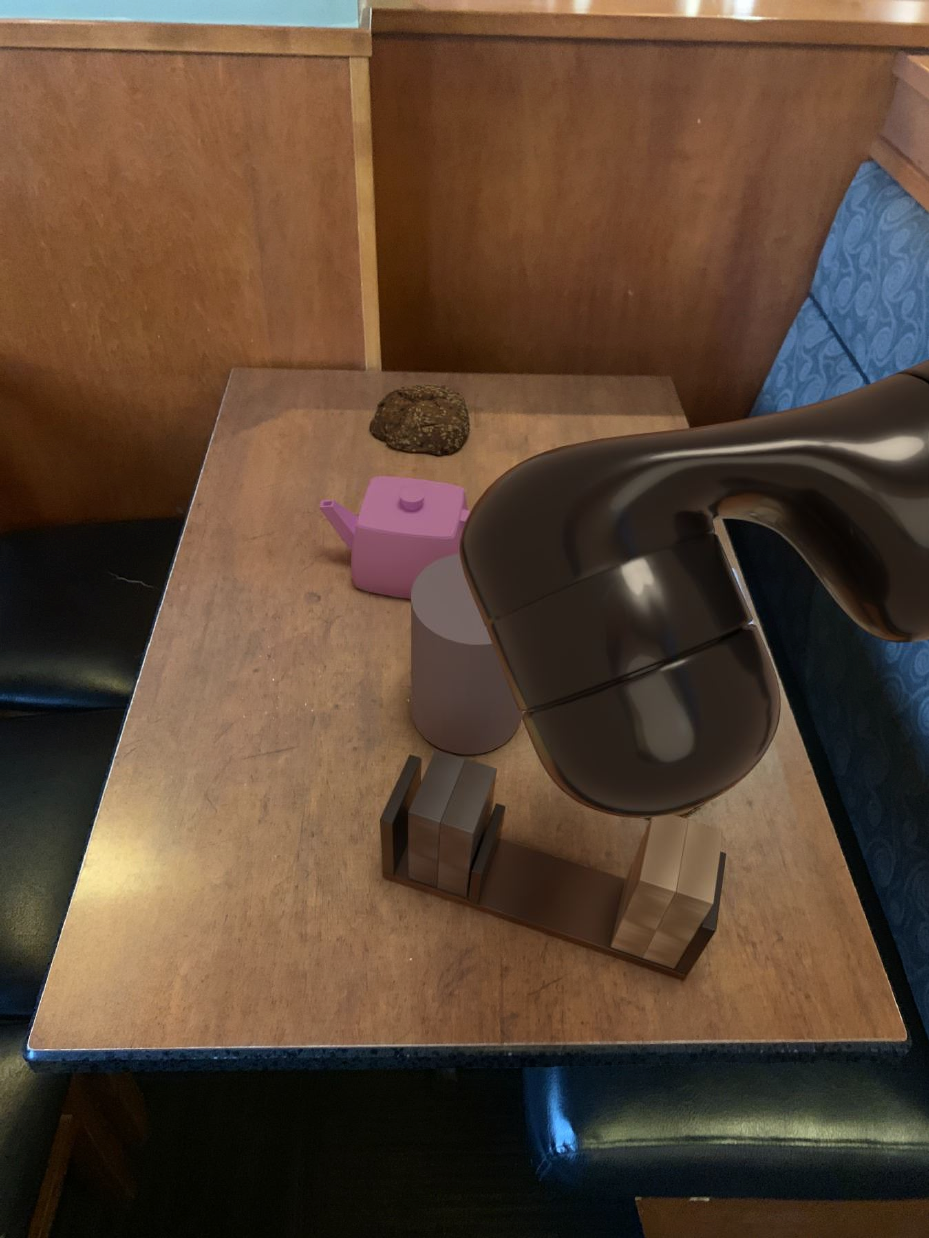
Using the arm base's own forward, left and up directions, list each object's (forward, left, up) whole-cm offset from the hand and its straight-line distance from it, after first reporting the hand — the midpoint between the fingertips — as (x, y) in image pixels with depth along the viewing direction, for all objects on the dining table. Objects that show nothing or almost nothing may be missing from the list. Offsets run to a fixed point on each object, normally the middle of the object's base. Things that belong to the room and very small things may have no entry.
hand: (624, 624), depth 57 cm
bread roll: (+32, -46, -22) cm, 60 cm away
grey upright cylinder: (+12, -5, -22) cm, 25 cm away
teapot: (+24, -21, -22) cm, 39 cm away
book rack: (+1, +10, -22) cm, 24 cm away
